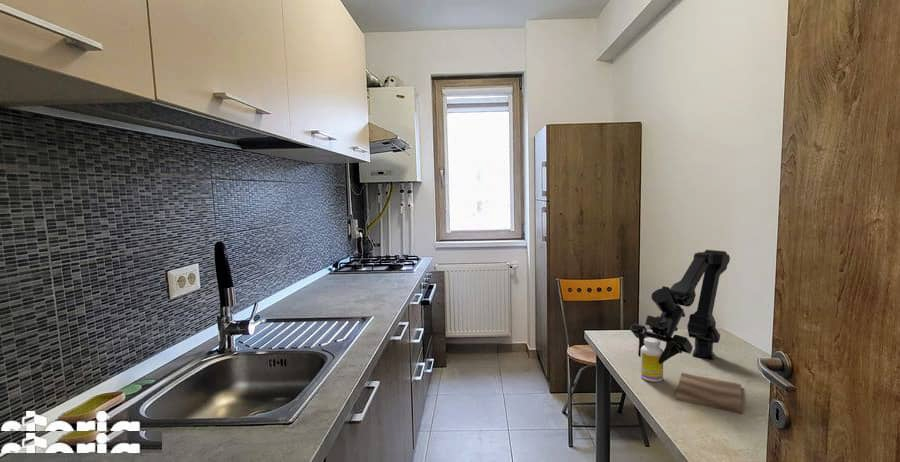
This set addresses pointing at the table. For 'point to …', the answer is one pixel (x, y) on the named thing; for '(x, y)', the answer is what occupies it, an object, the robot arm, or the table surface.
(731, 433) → the table surface
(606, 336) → the table surface
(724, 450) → the table surface
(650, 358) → the supplement bottle
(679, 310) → the robot arm
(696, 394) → the walnut board
